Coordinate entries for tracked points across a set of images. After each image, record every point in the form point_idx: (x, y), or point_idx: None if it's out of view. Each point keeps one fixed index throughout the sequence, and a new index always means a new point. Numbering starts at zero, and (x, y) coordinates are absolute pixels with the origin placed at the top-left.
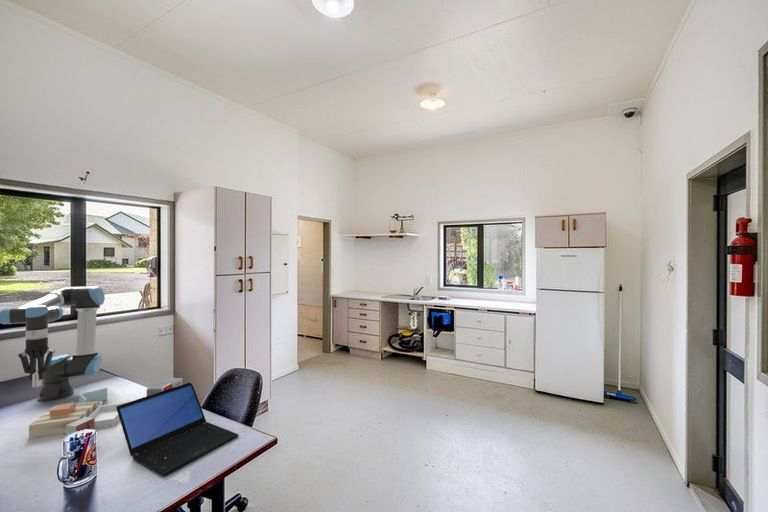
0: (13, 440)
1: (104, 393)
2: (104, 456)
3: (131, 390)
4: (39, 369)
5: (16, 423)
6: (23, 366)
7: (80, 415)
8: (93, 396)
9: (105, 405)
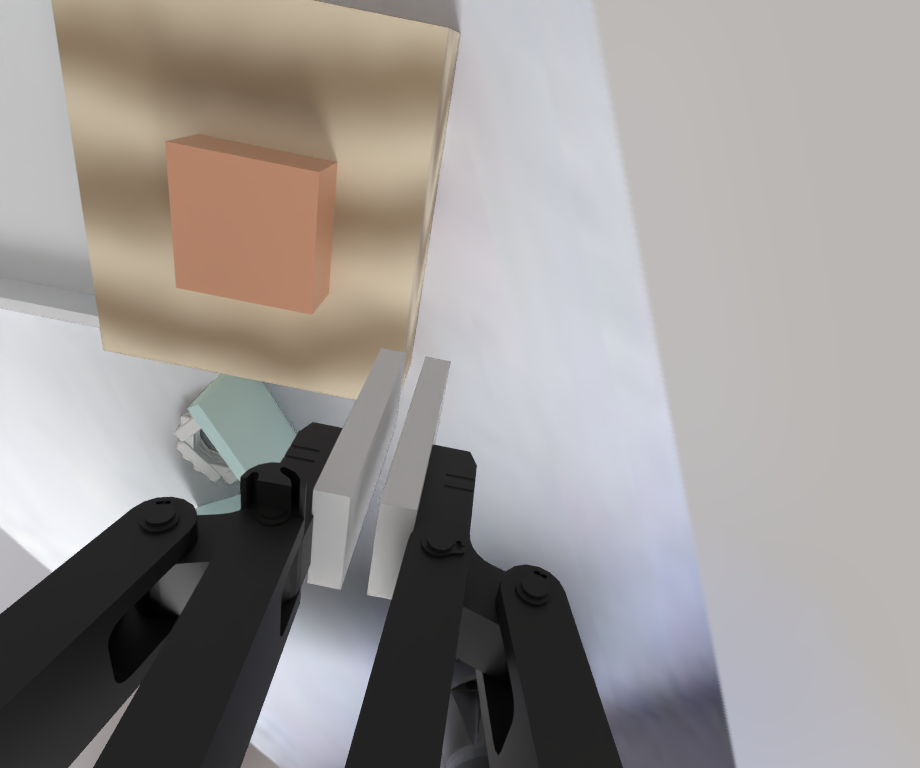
0: (559, 56)
1: None
2: None
3: None
4: (248, 563)
5: (616, 401)
6: (606, 764)
7: (66, 36)
8: None
9: (67, 310)
